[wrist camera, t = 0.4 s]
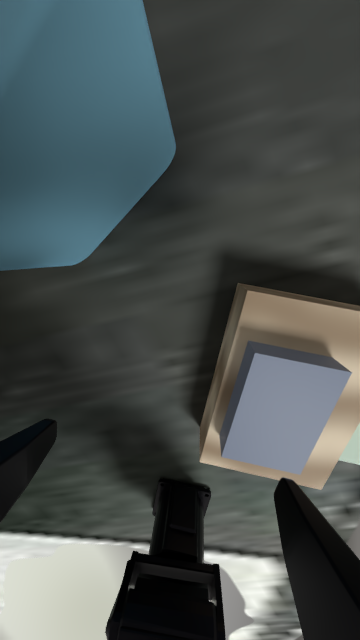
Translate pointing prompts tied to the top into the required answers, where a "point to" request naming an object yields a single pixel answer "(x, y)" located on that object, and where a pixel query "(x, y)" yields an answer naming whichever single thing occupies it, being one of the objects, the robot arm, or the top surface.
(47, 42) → the data package
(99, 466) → the top surface
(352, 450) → the mat
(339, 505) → the top surface
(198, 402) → the top surface
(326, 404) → the block
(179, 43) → the top surface
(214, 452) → the beige shallow box
